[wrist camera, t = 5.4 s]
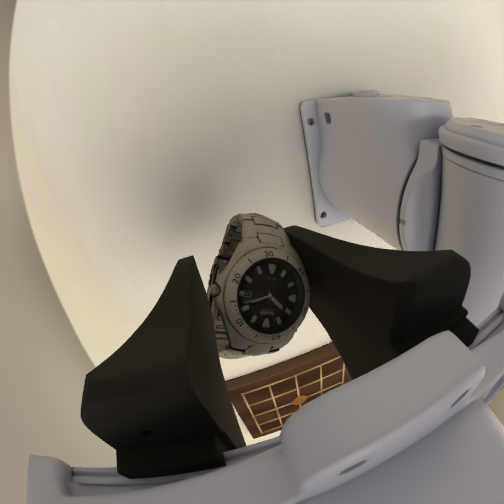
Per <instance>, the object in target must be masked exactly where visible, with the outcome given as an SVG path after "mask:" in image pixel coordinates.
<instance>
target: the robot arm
mask: <svg viewBox="0 0 504 504" xmlns="http://www.w3.org/2000/svg"><path fill="white" fill-rule="evenodd" d="M351 95H352V96H347V97H335V98H324V99H315V100H307V101H303V102H302V103H301V105H300V111H301V117H302V123H303V129H304V135H305V141H306V147H307V153H308V160H309V167H310V174H311V182H312V189H313V197H314V205H315V214H316V222H317V224H318V225H319V226H321V227H325V226H328V225H331V224H335V223H338V222H341V221H344V220H347V219H350V218H352V219H354V220H355V221H357V222H358V223H360V224H361V225H363V226H364V227H366V228H367V229H369V230H370V231H372V232H373V233H374V234H376V235H377V236H379V237H380V238H382V239H383V240H384V241H386V242H387V243H389V244H390V245H391V246H393V247H394V248H396V249H397V250H390V249H381V248H374V247H369V246H363V245H358V244H354V243H350V242H346V241H343V240H339V239H336V238H333V237H329V236H326V235H323V234H320V233H317V232H314V231H311V230H308V229H305V228H302V227H299V226H294V225H293V226H290V227H287V228H283V229H284V231H285V233H286V234H287V236H288V238H289V240H290V243H291V245H292V247H293V248H294V249H295V251H296V252H297V254H298V255H299V257H300V259H301V262H302V264H303V267H304V270H305V273H306V275H307V278H308V281H309V287H310V302H309V307H310V309H311V310H312V312H313V313H314V314H315V316H316V317H317V318H318V320H319V321H320V322H321V324H322V325H323V327H324V328H325V330H326V331H327V333H328V335H329V336H330V338H331V340H332V342H333V343H334V345H335V347H336V349H337V351H338V353H339V355H340V356H341V358H342V360H343V362H344V364H345V366H346V368H347V370H348V372H349V374H350V376H351V378H352V381H350V382H348V383H346V384H343V385H341V386H339V387H337V388H335V389H332V390H330V391H328V392H326V393H325V394H323V395H321V396H319V397H317V398H316V399H314V400H312V401H310V402H308V403H306V404H304V405H303V406H302V407H301V408H300V409H299V410H297V411H296V412H295V413H294V414H293V415H292V416H290V417H289V418H288V419H287V420H286V422H285V423H284V425H283V428H282V431H281V433H280V436H278V437H275V438H272V439H269V440H266V441H263V442H259V443H256V444H253V445H249V446H246V443H245V441H244V438H243V435H242V432H241V430H240V427H239V424H238V421H237V418H236V415H235V412H234V409H233V406H232V403H231V399H230V396H229V393H228V390H227V386H226V383H225V380H224V376H223V373H222V369H221V365H220V360H219V354H218V348H217V341H216V335H215V328H214V321H213V315H212V311H211V308H210V304H209V300H208V296H207V293H206V291H205V288H204V285H203V282H202V279H201V277H200V274H199V271H198V268H197V265H196V262H195V259H194V256H189V257H186V258H183V259H179V260H178V262H177V264H176V266H175V268H174V270H173V273H172V275H171V277H170V279H169V281H168V283H167V285H166V287H165V289H164V291H163V293H162V295H161V296H160V298H159V300H158V302H157V303H156V305H155V307H154V308H153V309H152V311H151V312H150V314H149V315H148V316H147V318H146V319H145V320H144V322H143V323H142V324H141V325H140V326H139V328H138V329H137V330H136V331H135V332H134V333H133V334H132V336H131V337H130V338H129V339H128V340H127V341H126V342H125V343H124V344H123V345H122V346H121V347H120V348H119V349H118V350H117V351H115V352H114V353H113V354H112V355H111V356H110V357H109V358H107V359H106V360H105V361H104V362H102V363H101V364H100V365H98V366H97V367H96V368H95V369H93V370H92V371H91V372H89V373H88V374H87V375H86V379H85V384H84V390H83V397H82V404H81V419H82V421H83V423H84V425H85V426H87V428H88V429H89V430H91V432H92V433H94V434H95V435H96V436H98V437H99V438H100V439H102V440H103V441H104V442H106V443H107V444H109V445H110V446H111V447H113V448H114V449H116V456H117V467H112V468H111V467H110V468H81V467H80V468H78V467H71V466H70V465H68V464H67V463H65V462H64V461H62V460H60V459H57V458H55V457H50V456H38V455H30V458H29V468H28V469H29V470H28V483H27V504H504V426H503V425H502V424H501V422H500V421H499V420H498V418H497V417H496V416H495V415H494V413H493V412H492V411H491V410H490V408H489V407H488V406H487V404H488V403H489V402H490V401H491V400H492V399H493V398H494V397H495V396H496V395H497V394H498V392H499V391H500V390H501V389H502V388H503V387H504V124H502V123H497V122H493V121H487V120H481V119H474V118H461V117H457V118H453V116H452V111H451V107H450V103H449V101H447V100H441V99H433V98H423V97H411V96H394V95H378V93H377V91H359V92H351ZM310 118H311V119H312V124H311V125H309V124H308V120H309V119H310ZM322 212H324V215H323V216H322V217H321V213H322Z"/></svg>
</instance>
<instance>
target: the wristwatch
mask: <svg viewBox="0 0 504 504" xmlns="http://www.w3.org/2000/svg"><path fill="white" fill-rule="evenodd" d="M208 285H209V286H208V290H207V296H208V300H209V304H210V308H211V311H212V315H213V321H214V328H215V335H216V341H217V348H218V354H219V357H221V358H225V359H237V358H243V357H248V356H256V355H262V354H270V353H274V352H277V351H279V350H280V348H282V347H284V346H285V345H286V344H288V343H289V341H290V340H291V339H292V337H293V335H294V333H295V332H296V331H297V328H298V327H299V326H300V324H301V323H302V321H303V320H304V318H305V316H306V313H307V311H308V308H309V302H310V287H309V281H308V278H307V275H306V273H305V270H304V267H303V264H302V262H301V259H300V257H299V255H298V254H297V252H296V251H295V249H294V248H293V247H292V245H291V243H290V240H289V238H288V236H287V234H286V233H285V231H284V229H283V228H282V226H281V225H280V224H279V223H278V222H275V221H273V220H271V219H269V218H267V217H265V216H263V215H259V214H256V213H249V214H238V215H236V216H234V217H233V218H232V219H231V220H230V222H229V224H228V225H227V229H226V233H225V236H224V238H223V242H222V246H221V249H220V250H219V255H218V256H216V258H215V260H214V264H213V266H212V269H211V273H210V279H209V283H208Z"/></svg>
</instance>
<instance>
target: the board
mask: <svg viewBox="0 0 504 504" xmlns="http://www.w3.org/2000/svg"><path fill="white" fill-rule="evenodd" d="M350 381H352V378H351V376H350V374H349V372H348V370H347V368H346V366H345V364H344V362H343V360H342V358H341V356H340V355H339V353H338V351H337V349H336V347H335V345H334V343H333V342H332V343H330V344H328V345H325V346H323V347H321V348H318V349H316V350H313V351H311V352H308V353H306V354H303V355H301V356H298V357H296V358H293V359H290V360H288V361H285V362H283V363H280V364H277V365H274V366H272V367H269V368H266V369H263V370H260V371H257V372H254V373H251V374H248V375H245V376H242V377H239V378H236V379H232V380H229V381H226V382H225V383H226V386H227V390H228V393H229V396H230V399H231V402H232V404H233V406H234V407H235V409H236V411H237V412H238V414H239V416H240V417H241V419H242V421H243V422H244V424H245V426H246V427H247V429H248V431H249V432H250V434H251V435H252V437H253V439H255V438H258V437H261V436H264V435H268V434H271V433H274V432H276V431H279V430H282V428H283V425H284V423H285V422H286V420H287V419H288V418H289V417H290V416H292V415H293V414H294V413H295V412H296V411H297V410H299V409H300V408H301V407H302V406H303V405H304V404H306V403H308V402H310V401H312V400H314V399H316V398H317V397H319V396H321V395H323V394H325V393H326V392H328V391H330V390H332V389H335V388H337V387H339V386H341V385H343V384H346V383H348V382H350Z"/></svg>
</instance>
